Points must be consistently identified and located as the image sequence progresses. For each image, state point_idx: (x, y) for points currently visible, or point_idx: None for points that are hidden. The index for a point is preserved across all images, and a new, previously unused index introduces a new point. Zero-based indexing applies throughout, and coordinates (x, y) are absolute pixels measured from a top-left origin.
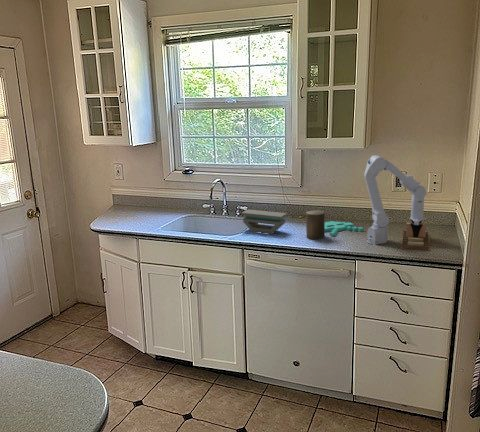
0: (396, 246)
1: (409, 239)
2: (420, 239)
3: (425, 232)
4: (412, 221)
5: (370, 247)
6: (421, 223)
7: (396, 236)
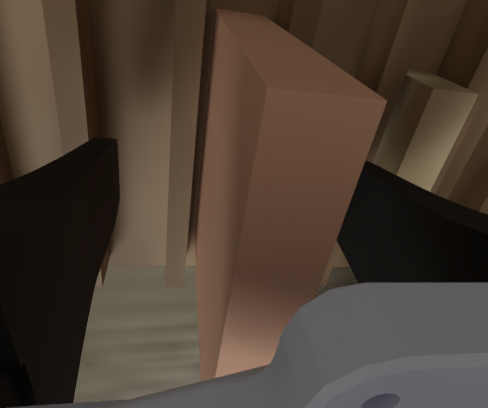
0: None
1: None
2: (456, 132)
3: (299, 44)
4: (71, 387)
5: None
6: (254, 229)
7: None
